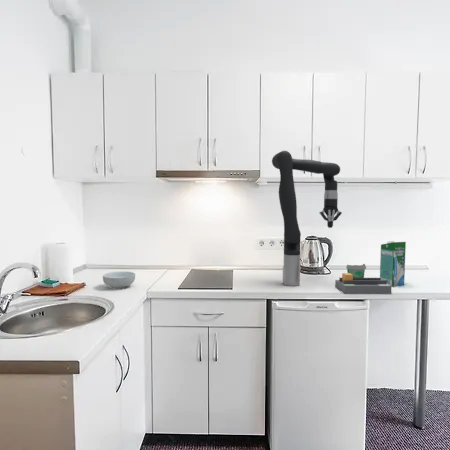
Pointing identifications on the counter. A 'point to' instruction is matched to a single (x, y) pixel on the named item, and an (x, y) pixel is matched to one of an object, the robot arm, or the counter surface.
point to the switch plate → (363, 286)
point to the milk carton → (393, 263)
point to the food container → (356, 270)
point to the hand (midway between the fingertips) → (330, 227)
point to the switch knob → (347, 276)
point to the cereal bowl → (119, 279)
